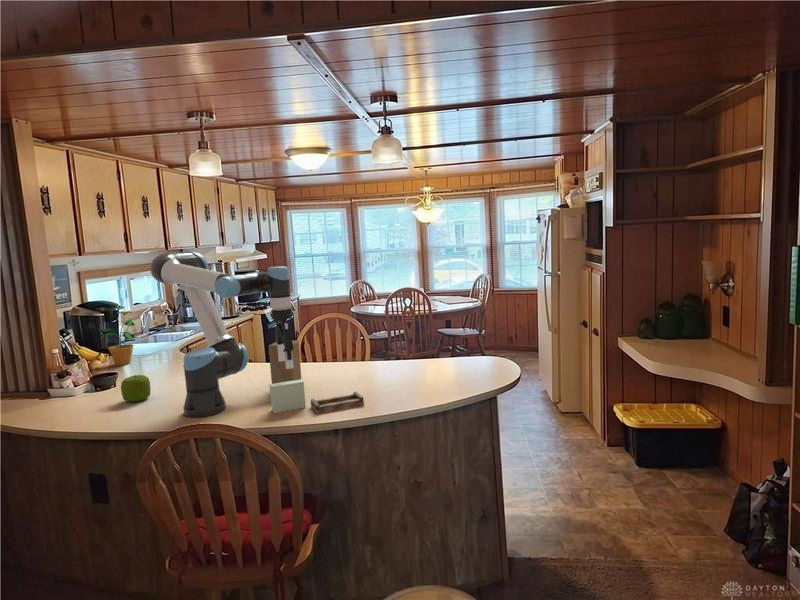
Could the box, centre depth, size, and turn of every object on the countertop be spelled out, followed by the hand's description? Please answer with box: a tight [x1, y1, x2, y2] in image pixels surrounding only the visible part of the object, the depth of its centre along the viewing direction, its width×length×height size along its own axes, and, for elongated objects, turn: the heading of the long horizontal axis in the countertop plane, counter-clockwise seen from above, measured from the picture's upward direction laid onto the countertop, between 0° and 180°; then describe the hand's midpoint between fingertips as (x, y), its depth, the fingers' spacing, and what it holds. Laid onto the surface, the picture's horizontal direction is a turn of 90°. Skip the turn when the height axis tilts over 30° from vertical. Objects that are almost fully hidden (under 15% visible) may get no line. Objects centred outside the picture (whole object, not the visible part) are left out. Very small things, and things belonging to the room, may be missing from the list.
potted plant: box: [98, 311, 136, 367], centre depth 291 cm, size 18×19×30 cm
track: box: [310, 391, 365, 415], centre depth 199 cm, size 18×9×3 cm, turn 113°
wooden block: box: [268, 339, 302, 384], centre depth 226 cm, size 10×10×20 cm
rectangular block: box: [269, 378, 307, 414], centre depth 198 cm, size 12×4×10 cm, turn 113°
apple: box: [120, 374, 151, 403], centre depth 221 cm, size 11×11×11 cm
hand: (285, 364), depth 198 cm, fingers open, 13 cm apart
